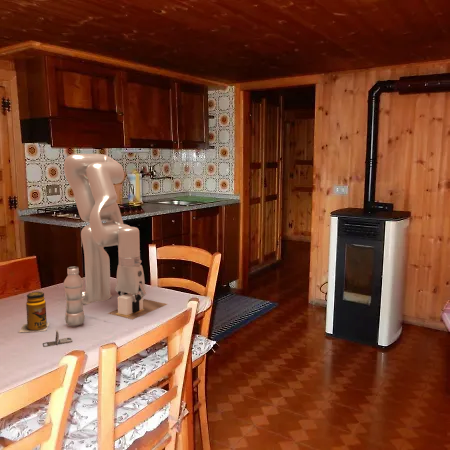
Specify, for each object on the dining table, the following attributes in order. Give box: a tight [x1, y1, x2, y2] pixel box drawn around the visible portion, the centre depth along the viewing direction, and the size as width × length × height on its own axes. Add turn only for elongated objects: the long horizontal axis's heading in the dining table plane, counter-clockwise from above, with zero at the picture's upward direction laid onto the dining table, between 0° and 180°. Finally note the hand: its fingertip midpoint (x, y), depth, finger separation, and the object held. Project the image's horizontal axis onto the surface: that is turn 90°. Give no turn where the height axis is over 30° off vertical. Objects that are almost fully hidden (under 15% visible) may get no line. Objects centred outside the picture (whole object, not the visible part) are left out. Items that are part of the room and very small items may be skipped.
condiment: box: [18, 291, 50, 333], centre depth 147 cm, size 7×8×12 cm
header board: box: [107, 298, 168, 321], centre depth 164 cm, size 20×12×4 cm, turn 149°
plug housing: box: [117, 293, 144, 315], centre depth 159 cm, size 8×4×6 cm, turn 149°
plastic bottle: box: [63, 266, 86, 327], centre depth 150 cm, size 6×7×20 cm
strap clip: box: [42, 329, 73, 348], centre depth 135 cm, size 8×3×4 cm, turn 117°
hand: (130, 310), depth 160 cm, fingers closed on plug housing, 4 cm apart
